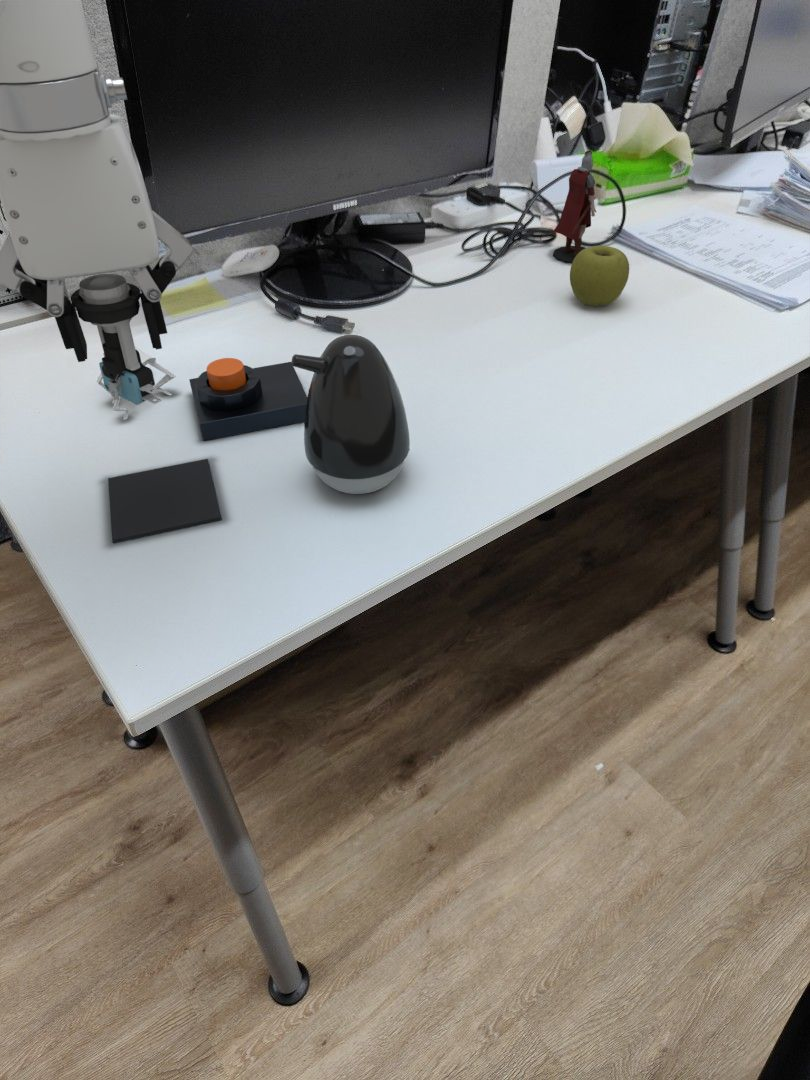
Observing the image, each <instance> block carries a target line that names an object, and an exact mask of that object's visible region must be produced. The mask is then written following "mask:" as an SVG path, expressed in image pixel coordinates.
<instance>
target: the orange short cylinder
mask: <svg viewBox="0 0 810 1080" xmlns="http://www.w3.org/2000/svg"><path fill="white" fill-rule="evenodd" d="M244 365H245V364H244V363H243V361H241V360H240V359H238V358H234V357H224V358H223V357H222V358H219V359H215V360H213V361H211V362H209V364H208V365H207V366H206V370H205V371H207V375H208V379H209V384H210V387H211V388H212V389H214V390H221V391H228V390H233V389H237V388H239V387H241V386H243V385H245V384H246V376H245V370H244Z"/></svg>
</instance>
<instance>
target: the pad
mask: <svg viewBox="0 0 810 1080" xmlns="http://www.w3.org/2000/svg"><path fill="white" fill-rule="evenodd" d="M107 483H108V485H107V486H108V499H109V516H110V531H111V542H112V544H114V543H120V542H125V541H129V540H134V539H138V538H143V537H147V536H153V535H157V534H161V533H166V532H170V531H171V532H172V531H175V530H176V531H177V530H180V529H181V530H182V529H185V528H190V527H195V526H199V525H204V524H209V523H212V522H216V521H217V522H219V521H222V520H223V517H222V513H221V508H220V505H219V500H218V496H217V491H216V488H215V482H214V479H213V475H212V471H211V466H210V462H209V459H208V458H204V459H198V460H193V461H189V462H184V463H178V464H174V465H169V466H164V467H158V468H154V469H153V468H152V469H148V470H142V471H137V472H133V473H128V474H123V475H117V476H112V477H108V478H107Z"/></svg>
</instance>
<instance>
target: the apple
mask: <svg viewBox="0 0 810 1080" xmlns="http://www.w3.org/2000/svg"><path fill="white" fill-rule="evenodd" d="M629 276H630V263H629V258H628V257H627V255H626V254H625V253H624V252H623V251H622V250H620V249H618V248H616V247H614V246H609V245H592V246H588V247H585V249H583V250H582V251H580V252H579V253H578V254H577V255H576V257H575V258H574V260H573V262H572V263H571V265H570V269H569V282H570V287H571V290H572V293H573V295H574V296H575V298H576V299H577V300H578V301H579V302H580V303H581V304H583V305H585V306H590V307H602V306H607V305H610V304H613V302H615V301H616V300H617V299H618V298H619V297H620V296H621V294H622V293H623V291H624V289H625V287H626V285H627V283H628V280H629Z"/></svg>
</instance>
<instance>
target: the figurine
mask: <svg viewBox="0 0 810 1080" xmlns="http://www.w3.org/2000/svg"><path fill="white" fill-rule="evenodd" d="M593 163H594V158H593V151H592V150H586V151H585V152H584V156H583V157H582V159H581V166H578V167H577V168H574V169H573V170H572V171H571V172H570V175H569V177H568V192H567V195H566V199H565V203H564V206H563V209H562V212H561V216H560V218H559V220H558V223H557V225H556V226H555V228H554V229H553V231H552V232H553V233H556V234H560V235H562V236H564V237H566V238H565V246H560V247H558V248H556V249H554V250H553V253H552V257H553V258H555V260H556V261H559V262H561V263H565V264H572V262H573V260H574V258H575V257H576V255H577V254H578V253H579V252H580V251H582V250H583V249H585V248H586V246H582V240H583V239H582V238H583V235H584V234H585V232H586V229H587V228H590V227H592V217H595V216H596V213H597V209H596V207H595V200H596V197H595V194H596V192H595V185H596V180H595V178H594V175H592V173H591V171H592V170H593V166H594V164H593ZM573 241H574V242H573ZM573 243H574V245H572V244H573Z"/></svg>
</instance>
